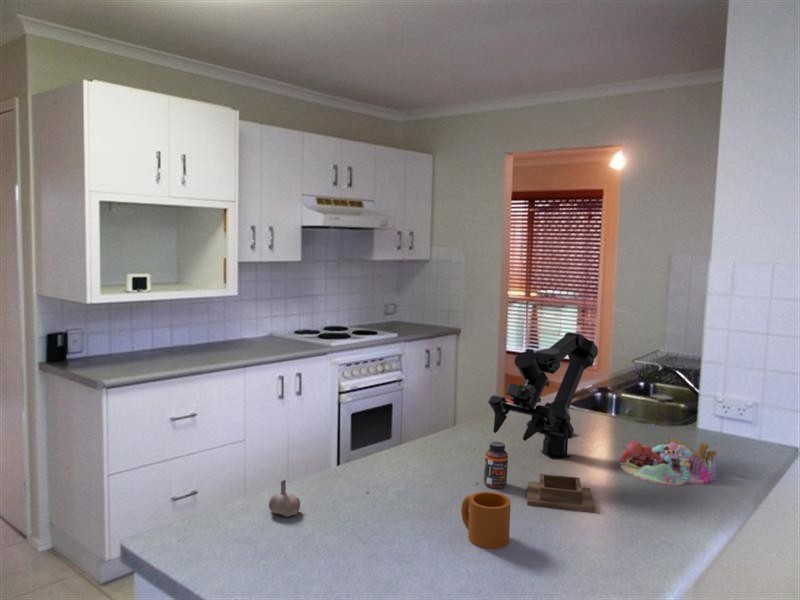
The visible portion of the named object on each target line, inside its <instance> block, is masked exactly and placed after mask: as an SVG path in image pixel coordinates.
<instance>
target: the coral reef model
mask: <svg viewBox="0 0 800 600" xmlns="http://www.w3.org/2000/svg"><path fill="white" fill-rule="evenodd" d="M709 446H710V445H709V443H707V442H700V444H699V447H698V451H695V450H693V449H692V447H691V446H690V445H687V444H685V443H683V442H682V441H681V440H679V439H677V438H675V437H669V439H667V442H666V444H663V443H662V444H658V445H657V446H653V447H652V448H651V447H650V446H649V445H644V446H643V445H642V444H641V443H640V442H638V441H631V442H630V443H628V446H627V449H624V450H623V451H621V455H622V456H620V457H619V465H620V468H621V469H622V471H624V472H626V473H627V474H629V475H632V476H635V477H636V478H640V479H642V480H644V481H647V482H651V483H655V484H660V485H667V486H674V487H675V486H682V485H685V484H687V483H690V484H701V485H702V484H708V483H709V482H710V483H712V482H714V481H715V480H716V479H717V470H716V467H717V466H716V465H717V458H716V455H717V450H709V451H707V450H708V449H709Z"/></svg>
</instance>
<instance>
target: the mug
mask: <svg viewBox="0 0 800 600" xmlns="http://www.w3.org/2000/svg"><path fill="white" fill-rule="evenodd" d="M462 500H463V501H462V504H461V513H460V514H461V518H462V521H463V525H464V526H465V528H466V529H467V530H468V533H467V535H468V536H467V538H468V540H469V542H470V543H471V544H472V545H474V546H476V547H479V548H481V549H485V550H486V549H487V550H494V549H495V550H496V549H498V550H499V549H501V548H502V549H503V548H505V547H506V546H507V545H509V543H510V528H511V525H510V524H511V503H512V502H511V499H510V498H509V497H508V496H507V495H505V494H502V493H501V492H500V493H499V492H495V491H479V492H478V491H477V492H475V493H472V494H467V495H466V496H465V497H464V498H463V499H462Z"/></svg>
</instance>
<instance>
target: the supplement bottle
mask: <svg viewBox="0 0 800 600" xmlns="http://www.w3.org/2000/svg"><path fill="white" fill-rule="evenodd" d="M505 449H506V444H505V443H504V442H502V441H497V440H496V441H494V440H493V441H491V442H489V449H487V450H486V451H485V456H484V457H485V458H484V473H483V475H484V476H483V484H484V485H485V486H486V487H488V488H490V489H491V488H492V489H504V488H505V487H506V486H507V481H508V480H507V479H508V464H509V463H508V462H509V454H508V452H507V451H506V450H505Z"/></svg>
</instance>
